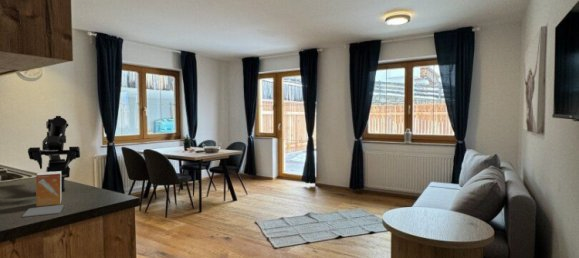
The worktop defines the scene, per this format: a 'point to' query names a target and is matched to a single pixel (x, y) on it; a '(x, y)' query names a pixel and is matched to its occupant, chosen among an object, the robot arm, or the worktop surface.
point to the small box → (48, 188)
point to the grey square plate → (43, 210)
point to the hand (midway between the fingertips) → (53, 168)
